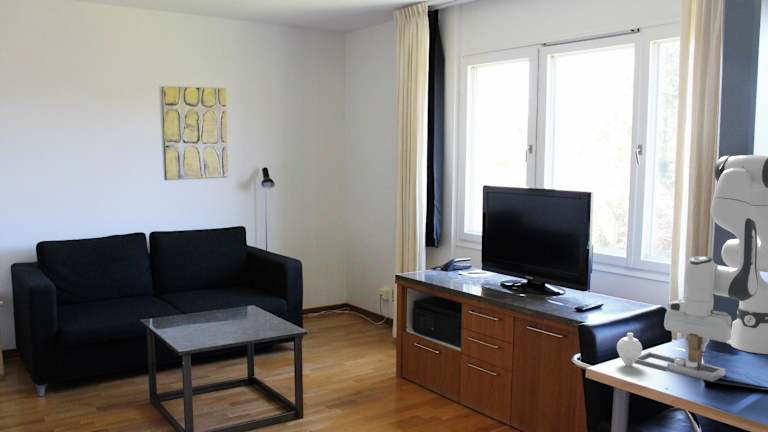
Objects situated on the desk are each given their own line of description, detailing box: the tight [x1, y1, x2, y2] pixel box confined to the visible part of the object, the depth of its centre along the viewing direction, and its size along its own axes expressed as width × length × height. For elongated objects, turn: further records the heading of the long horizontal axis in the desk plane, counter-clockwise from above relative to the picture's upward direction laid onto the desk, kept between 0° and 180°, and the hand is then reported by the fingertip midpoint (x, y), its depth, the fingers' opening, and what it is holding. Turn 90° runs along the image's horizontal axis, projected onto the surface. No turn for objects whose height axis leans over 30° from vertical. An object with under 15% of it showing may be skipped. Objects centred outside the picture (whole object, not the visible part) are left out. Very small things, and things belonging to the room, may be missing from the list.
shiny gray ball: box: [673, 356, 687, 366], centre depth 214 cm, size 3×3×3 cm
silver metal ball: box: [685, 359, 698, 369], centre depth 212 cm, size 3×3×3 cm
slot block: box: [666, 358, 726, 383], centre depth 211 cm, size 9×14×4 cm, turn 42°
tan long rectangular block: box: [687, 333, 704, 363], centre depth 219 cm, size 4×2×10 cm, turn 132°
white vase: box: [616, 332, 643, 367], centre depth 216 cm, size 8×8×12 cm
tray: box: [634, 351, 676, 371], centre depth 220 cm, size 11×11×3 cm
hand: (695, 349), depth 219 cm, fingers closed on tan long rectangular block, 2 cm apart
